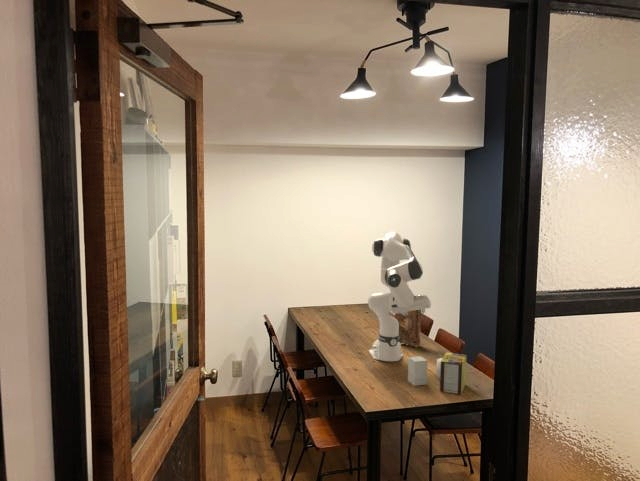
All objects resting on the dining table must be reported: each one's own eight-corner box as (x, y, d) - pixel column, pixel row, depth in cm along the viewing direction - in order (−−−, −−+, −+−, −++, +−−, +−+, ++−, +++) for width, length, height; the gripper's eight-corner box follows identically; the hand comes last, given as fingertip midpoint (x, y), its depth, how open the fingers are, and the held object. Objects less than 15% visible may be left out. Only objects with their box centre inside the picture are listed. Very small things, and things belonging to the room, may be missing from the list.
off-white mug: (452, 380, 253) (453, 363, 253) (436, 379, 255) (437, 362, 254) (451, 373, 263) (451, 357, 262) (436, 372, 265) (436, 356, 264)
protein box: (465, 384, 249) (466, 354, 247) (461, 395, 235) (462, 364, 233) (444, 380, 253) (445, 351, 251) (439, 391, 239) (440, 360, 237)
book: (421, 345, 312) (422, 307, 310) (417, 347, 308) (418, 309, 306) (397, 340, 322) (399, 303, 319) (394, 342, 317) (395, 305, 315)
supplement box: (427, 384, 247) (427, 360, 246) (413, 386, 245) (414, 361, 244) (420, 379, 254) (420, 355, 253) (407, 380, 252) (408, 357, 251)
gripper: (425, 289, 237) (434, 304, 246) (386, 296, 246) (396, 311, 255) (426, 299, 233) (435, 315, 242) (386, 306, 242) (396, 321, 251)
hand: (415, 313), depth 248 cm, fingers open, 8 cm apart
